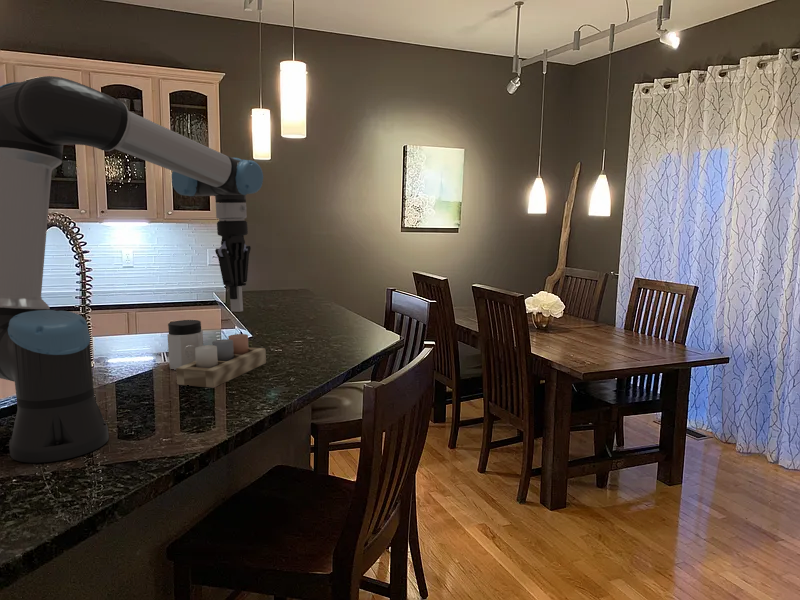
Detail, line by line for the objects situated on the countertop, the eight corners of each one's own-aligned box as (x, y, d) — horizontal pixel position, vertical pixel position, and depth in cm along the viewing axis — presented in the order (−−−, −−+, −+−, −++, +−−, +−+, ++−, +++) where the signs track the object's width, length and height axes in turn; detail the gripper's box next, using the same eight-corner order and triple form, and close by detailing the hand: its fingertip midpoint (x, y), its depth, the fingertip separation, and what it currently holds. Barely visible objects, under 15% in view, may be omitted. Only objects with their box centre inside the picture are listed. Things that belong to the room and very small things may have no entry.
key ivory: (209, 370, 143) (208, 350, 142) (192, 369, 144) (190, 349, 144) (222, 365, 148) (221, 345, 147) (204, 364, 149) (203, 344, 148)
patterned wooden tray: (213, 387, 140) (212, 371, 140) (177, 384, 143) (176, 368, 143) (266, 362, 163) (265, 348, 162) (233, 360, 166) (233, 346, 165)
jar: (173, 373, 154) (170, 326, 152) (166, 366, 161) (163, 322, 159) (209, 367, 159) (206, 322, 157) (200, 361, 166) (197, 318, 164)
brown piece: (242, 357, 156) (241, 338, 155) (225, 356, 158) (224, 337, 157) (252, 352, 161) (251, 334, 160) (236, 351, 162) (235, 333, 162)
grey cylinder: (226, 363, 150) (225, 344, 149) (209, 362, 151) (208, 343, 150) (237, 359, 154) (236, 339, 154) (221, 357, 156) (219, 338, 155)
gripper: (230, 220, 147) (235, 315, 150) (258, 219, 159) (262, 307, 163) (203, 220, 149) (209, 314, 153) (233, 219, 161) (238, 306, 165)
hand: (237, 311), depth 158 cm, fingers closed
